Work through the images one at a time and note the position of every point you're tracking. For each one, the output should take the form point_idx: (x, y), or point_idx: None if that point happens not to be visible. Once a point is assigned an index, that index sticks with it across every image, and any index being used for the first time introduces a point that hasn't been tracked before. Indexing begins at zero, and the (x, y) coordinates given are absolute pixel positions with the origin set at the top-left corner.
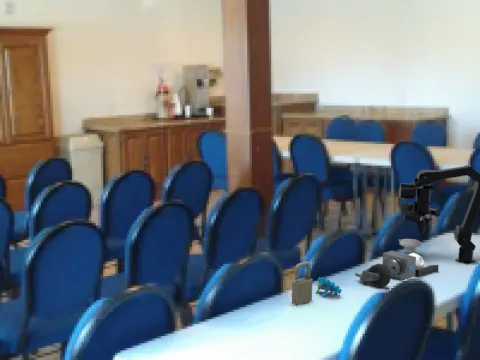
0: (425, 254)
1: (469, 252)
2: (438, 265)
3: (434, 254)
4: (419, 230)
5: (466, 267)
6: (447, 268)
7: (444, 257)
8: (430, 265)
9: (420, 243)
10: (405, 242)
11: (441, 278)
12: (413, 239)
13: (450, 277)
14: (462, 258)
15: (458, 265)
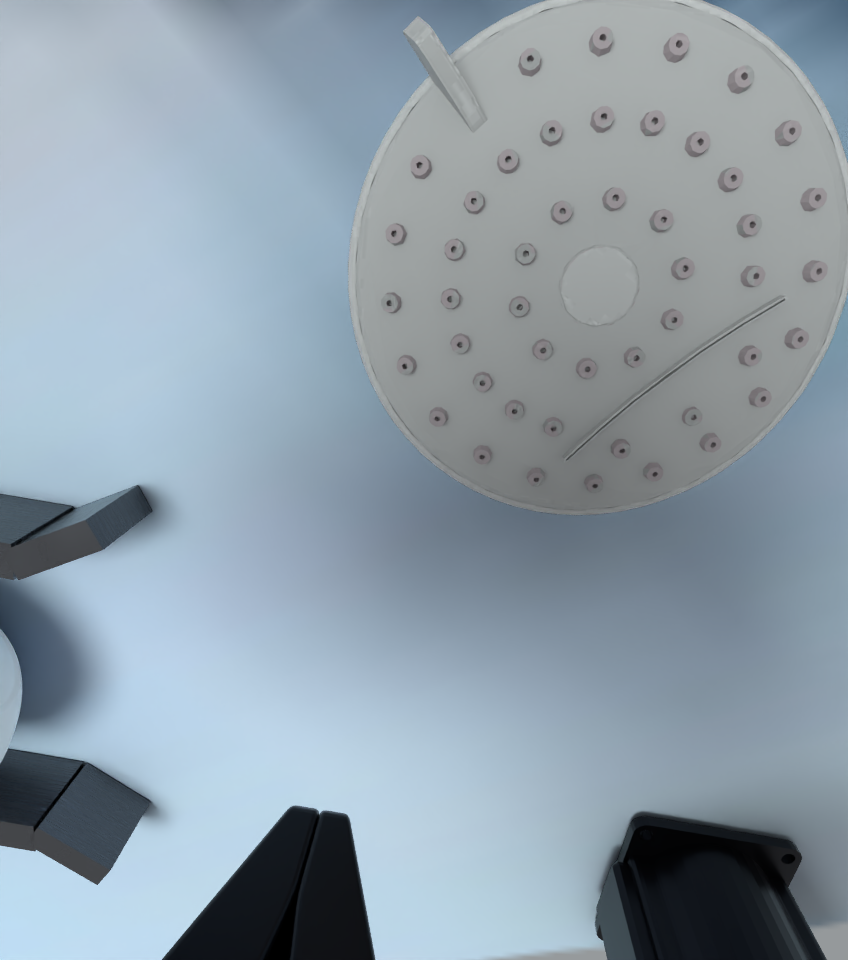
0: None
1: None
2: (95, 883)
3: (794, 544)
4: (214, 913)
5: (486, 936)
6: None
7: (721, 683)
8: (20, 829)
9: (607, 512)
10: (402, 258)
11: (9, 884)
12: (799, 273)
13: (98, 923)
14: (607, 936)
15: (501, 873)
